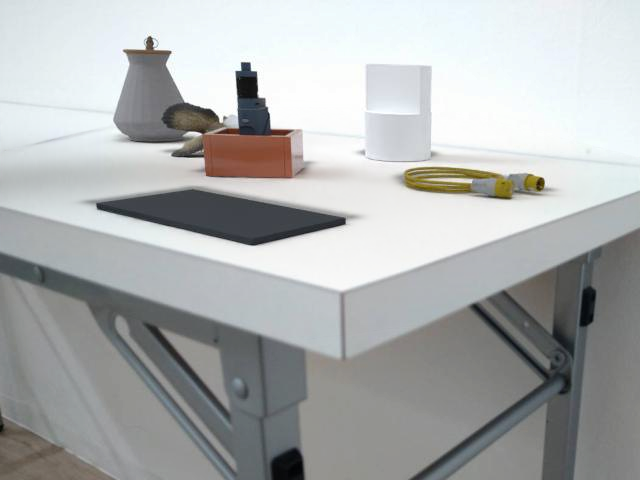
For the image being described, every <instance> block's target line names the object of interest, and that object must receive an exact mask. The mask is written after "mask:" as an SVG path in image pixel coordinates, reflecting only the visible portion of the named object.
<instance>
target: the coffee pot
mask: <svg viewBox="0 0 640 480" xmlns="http://www.w3.org/2000/svg"><path fill="white" fill-rule="evenodd" d="M154 41H156V43H157V45H156V46H155V42H154ZM143 44H144V46H145V49H137V48H135V49H133V48H132V49H131V48H130V49H129V48H124V49H122V52H123V53H124V54H126V57H127V60H128V63H129V65H128V68H127V72H126V75H125V78H124V81H123V85H122V88H121V92H120V95H119V98H118V101H117V105H116V108H115V111H114V115H113V119H112V121H113V123H114V125H115V126H116V128H117V130H118V131H119V132H121V133H122V134H123V135H124V136H127V137H128V140H130V141H134V142H174V141H180V140H183V136H185V135H186V134H187V133H188V132H187V131H182V130H175V129H170V128H167V127H166V126H167V125H166V124H164V123H163V121H162V120H161V118H162V116H163V113H164V112H165V110H166V109H168V107H169V106H172V105H175V104H177V103H178V104H179V103H183V102H185V100H184V97H183V96H182V94H181V92H180V90H179V88H178V86H177V84H176V82H175V80H174V78H173V76H172V75H171V72H170V70H169V68H168V66H167V62H168V61H169V59H170V56H171V54H172V53H173V51H172V50H169V49H167V50H166V49H156V48H158V46H159V42H158V39H156V38H155V37H152V36H151V35H148V37H146V38H145V39H144V40H143Z"/></svg>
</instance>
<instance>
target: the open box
mask: <svg viewBox="0 0 640 480" xmlns="http://www.w3.org/2000/svg"><path fill="white" fill-rule="evenodd" d="M303 134H304V133H303V129H299V128H297V129H295V128H271V135H239V128H228V127H222V128H219V129H216V130H214V131H211V132H208V133H205V134H203V135H202V134H201V135H202V138H203V159H204V171H205V177H228V178H229V177H231V178H232V177H234V178H277V179H280V178H281V179H285V178H286V179H293V178H294V177H295V176H296V175H297V174H298V173H299V172H301V170H303V169H304V167H305V163H304V162H305V161H304V159H305V158H304V138H303V137H304V136H303Z"/></svg>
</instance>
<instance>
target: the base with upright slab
mask: <svg viewBox="0 0 640 480" xmlns="http://www.w3.org/2000/svg"><path fill="white" fill-rule="evenodd" d="M432 68H433V66H432V65H425V64H424V65H423V64H422V65H421V64H393V63H365V110H364V131H365V132H364V148H365V149H364V150H365V151H364V152H365V154H364V157H365V158H366V159H369V160H373V161H374V160H375V161H382V162H383V161H384V162H422V161H428V160H430V159H431V156H432V155H431V153H432V73H433V69H432Z"/></svg>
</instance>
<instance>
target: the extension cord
mask: <svg viewBox="0 0 640 480" xmlns="http://www.w3.org/2000/svg"><path fill="white" fill-rule="evenodd" d="M403 175H404V181H405V186H406V187H408V188H412V189H415V190H421V191H427V192H436V193H446V194H447V193H449V194H450V193H451V194H464V193H465V194H466V193H467V194H468V193H479V194H481V195H486V196H488V197H497V198H499V197H500V198H507V199H508V198H509V199H511V198H513V195H514V190H515V188H517V189H519V190H520V191H524V192H525V191H526V192H531V191H533V192H538V193H541V192H543V191H545V186H546V180H545V178H544V177H543V176H537V175H534V174H532V173H528V172H521V173H510V174H508V175H507V179H504V176H503V175H502V174H500V173H496V172H493V171H486V170H479V169H472V168H463V167H453V166H452V167H450V166H420V167H412V168H407V169H406V170H405V171H404V172H403ZM415 175H418V176H415ZM412 176H413V177H412ZM432 178H433V179H434V178H435V179H437V178H456V179H457V178H459V179H461V178H462V179H472V180H471V182H457V181H445V180H430V179H432Z"/></svg>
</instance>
